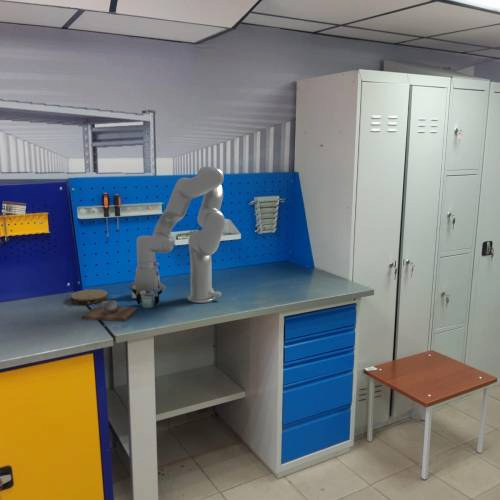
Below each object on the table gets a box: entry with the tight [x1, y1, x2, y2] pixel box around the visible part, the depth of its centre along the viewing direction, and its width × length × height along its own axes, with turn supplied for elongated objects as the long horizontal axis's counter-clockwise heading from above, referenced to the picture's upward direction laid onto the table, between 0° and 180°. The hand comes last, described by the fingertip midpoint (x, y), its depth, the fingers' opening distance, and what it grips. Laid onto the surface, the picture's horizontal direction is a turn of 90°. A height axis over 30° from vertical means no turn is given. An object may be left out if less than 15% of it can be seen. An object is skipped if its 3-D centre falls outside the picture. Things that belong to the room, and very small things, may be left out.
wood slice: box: [70, 288, 109, 306], centre depth 233 cm, size 16×16×3 cm
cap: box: [141, 293, 155, 309], centre depth 224 cm, size 5×5×5 cm
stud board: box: [81, 299, 138, 322], centre depth 213 cm, size 18×14×5 cm
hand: (147, 303), depth 225 cm, fingers open, 7 cm apart
